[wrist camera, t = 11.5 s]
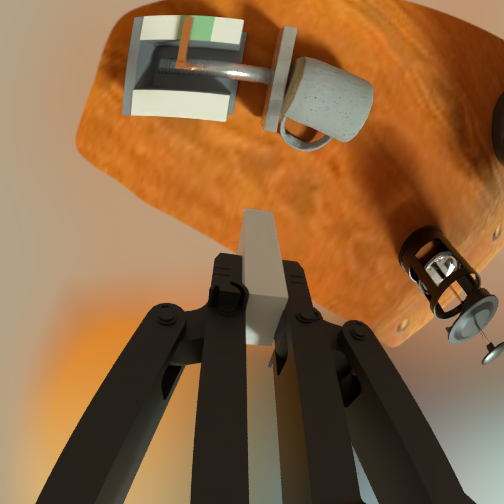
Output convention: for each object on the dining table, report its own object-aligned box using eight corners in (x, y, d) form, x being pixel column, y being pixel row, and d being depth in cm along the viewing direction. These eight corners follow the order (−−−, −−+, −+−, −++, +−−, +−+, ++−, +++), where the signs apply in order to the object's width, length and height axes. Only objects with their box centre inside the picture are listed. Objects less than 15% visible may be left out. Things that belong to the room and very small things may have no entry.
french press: (387, 270, 44) (449, 386, 25) (408, 221, 39) (496, 334, 20) (436, 273, 45) (497, 370, 26) (456, 230, 40) (536, 323, 21)
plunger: (289, 35, 24) (303, 23, 18) (271, 124, 30) (279, 137, 24) (174, 22, 22) (157, 8, 16) (161, 112, 28) (141, 122, 22)
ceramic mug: (291, 54, 26) (305, 48, 20) (355, 80, 28) (384, 84, 21) (262, 135, 32) (268, 152, 25) (325, 156, 33) (345, 178, 27)
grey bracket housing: (247, 33, 24) (249, 20, 18) (232, 113, 30) (231, 122, 24) (154, 28, 23) (133, 16, 17) (144, 106, 28) (121, 115, 22)
